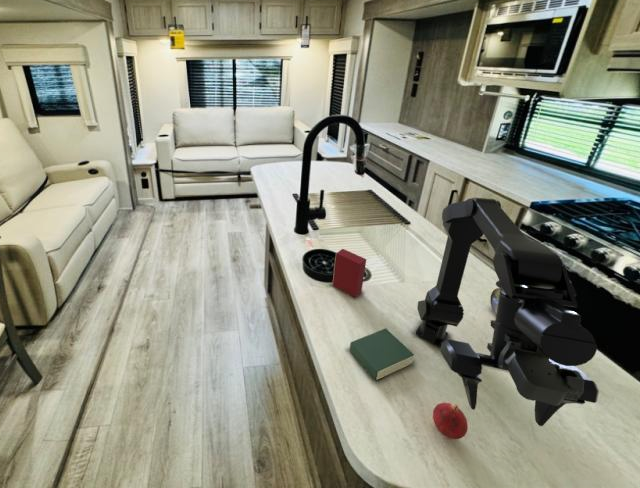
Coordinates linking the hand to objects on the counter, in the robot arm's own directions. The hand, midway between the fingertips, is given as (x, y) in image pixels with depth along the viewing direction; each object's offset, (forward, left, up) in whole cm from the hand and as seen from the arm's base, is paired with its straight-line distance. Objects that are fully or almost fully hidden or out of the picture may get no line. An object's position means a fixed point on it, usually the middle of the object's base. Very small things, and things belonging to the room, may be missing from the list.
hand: (504, 415), depth 51 cm
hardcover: (-12, -23, -16) cm, 31 cm away
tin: (-49, -2, -16) cm, 51 cm away
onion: (-4, -6, -16) cm, 18 cm away
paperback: (-30, -42, -16) cm, 54 cm away
